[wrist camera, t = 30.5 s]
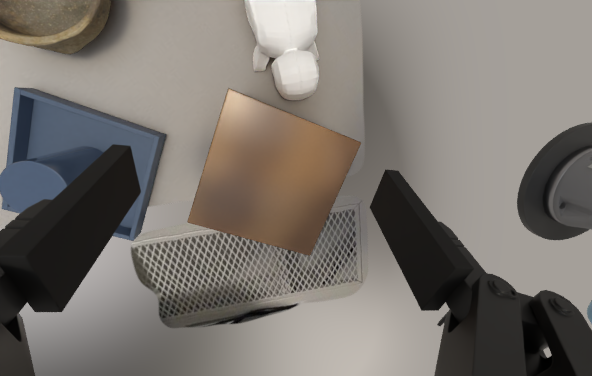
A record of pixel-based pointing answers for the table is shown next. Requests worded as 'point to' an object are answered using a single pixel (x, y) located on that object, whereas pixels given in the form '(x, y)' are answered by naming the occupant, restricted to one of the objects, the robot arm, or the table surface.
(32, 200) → the slate blue cylinder
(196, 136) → the table surface
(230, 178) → the brown wooden block
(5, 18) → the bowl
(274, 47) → the white turtle figurine
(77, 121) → the blue tray
